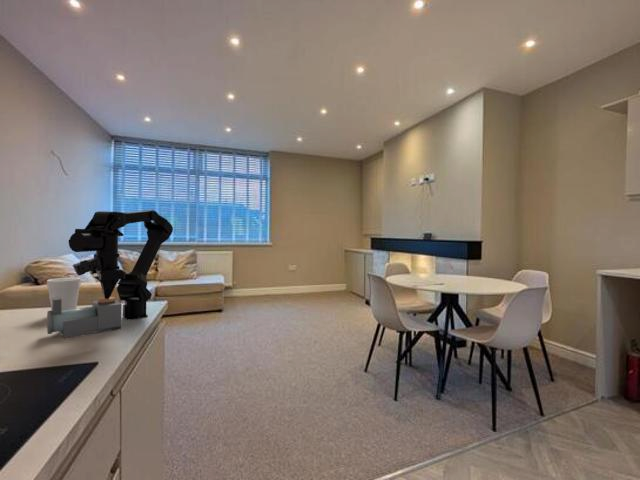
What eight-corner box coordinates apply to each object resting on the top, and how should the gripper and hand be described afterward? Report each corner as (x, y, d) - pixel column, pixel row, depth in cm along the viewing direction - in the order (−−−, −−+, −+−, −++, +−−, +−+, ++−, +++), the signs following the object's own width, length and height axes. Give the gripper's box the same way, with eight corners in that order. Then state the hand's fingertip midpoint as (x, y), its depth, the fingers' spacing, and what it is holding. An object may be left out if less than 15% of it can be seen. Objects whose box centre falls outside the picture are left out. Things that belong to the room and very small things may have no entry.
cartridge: (91, 323, 97) (92, 293, 97) (95, 328, 92) (96, 296, 92) (46, 331, 89) (47, 297, 89) (48, 336, 85) (48, 301, 85)
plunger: (113, 308, 100) (113, 296, 100) (116, 311, 97) (116, 298, 97) (96, 310, 97) (96, 298, 97) (99, 313, 94) (99, 300, 94)
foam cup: (79, 309, 117) (79, 276, 117) (82, 314, 110) (82, 279, 110) (46, 314, 110) (46, 278, 110) (47, 319, 104) (47, 282, 103)
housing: (113, 321, 103) (114, 298, 103) (121, 328, 96) (121, 304, 96) (60, 330, 93) (60, 305, 93) (63, 339, 86) (64, 311, 86)
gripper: (70, 249, 97) (70, 297, 98) (79, 253, 84) (79, 308, 85) (111, 248, 105) (111, 292, 106) (126, 251, 92) (125, 302, 93)
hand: (106, 298), depth 97 cm, fingers closed, pressing on plunger
